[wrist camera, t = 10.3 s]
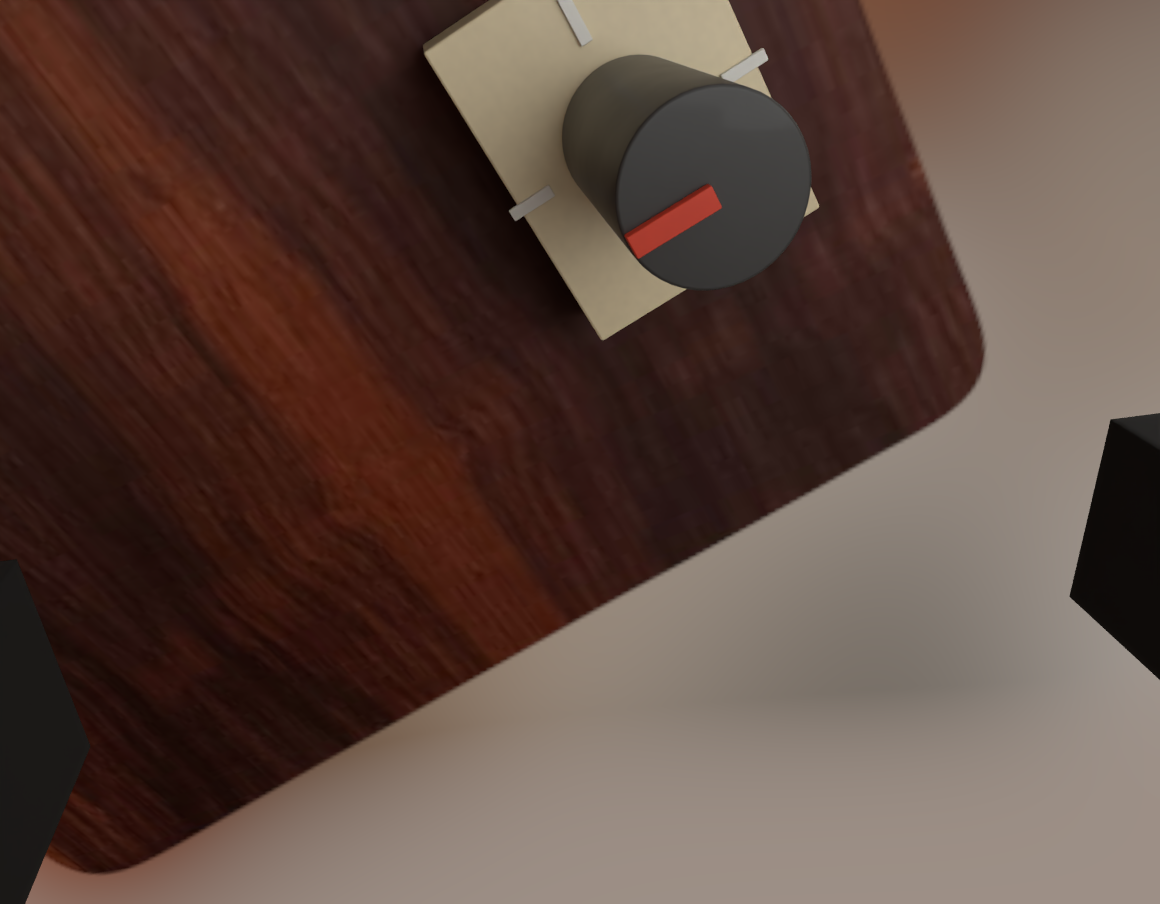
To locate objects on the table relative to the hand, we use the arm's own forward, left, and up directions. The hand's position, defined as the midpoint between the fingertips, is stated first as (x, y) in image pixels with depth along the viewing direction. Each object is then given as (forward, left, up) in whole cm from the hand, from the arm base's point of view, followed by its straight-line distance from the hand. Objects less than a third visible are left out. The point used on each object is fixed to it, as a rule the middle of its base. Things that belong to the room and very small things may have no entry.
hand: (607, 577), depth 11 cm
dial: (+2, -4, -18) cm, 19 cm away
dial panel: (+2, -4, -21) cm, 22 cm away
